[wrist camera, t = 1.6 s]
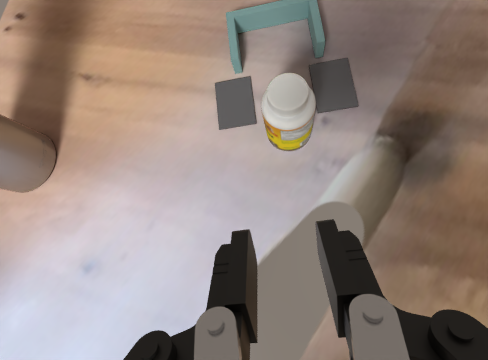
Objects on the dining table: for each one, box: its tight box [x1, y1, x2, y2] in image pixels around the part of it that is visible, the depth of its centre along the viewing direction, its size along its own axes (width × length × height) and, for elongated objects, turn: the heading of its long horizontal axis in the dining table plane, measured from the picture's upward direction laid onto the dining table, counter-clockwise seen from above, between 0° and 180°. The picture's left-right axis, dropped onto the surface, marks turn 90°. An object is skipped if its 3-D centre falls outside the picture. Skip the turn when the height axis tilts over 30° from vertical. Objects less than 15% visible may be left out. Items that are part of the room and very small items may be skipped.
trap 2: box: [215, 77, 256, 130], centre depth 39 cm, size 5×7×1 cm
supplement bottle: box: [261, 73, 316, 151], centre depth 32 cm, size 6×6×10 cm
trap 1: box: [309, 58, 358, 113], centre depth 37 cm, size 5×7×1 cm
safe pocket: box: [226, 0, 325, 74], centre depth 38 cm, size 12×8×3 cm, turn 96°
